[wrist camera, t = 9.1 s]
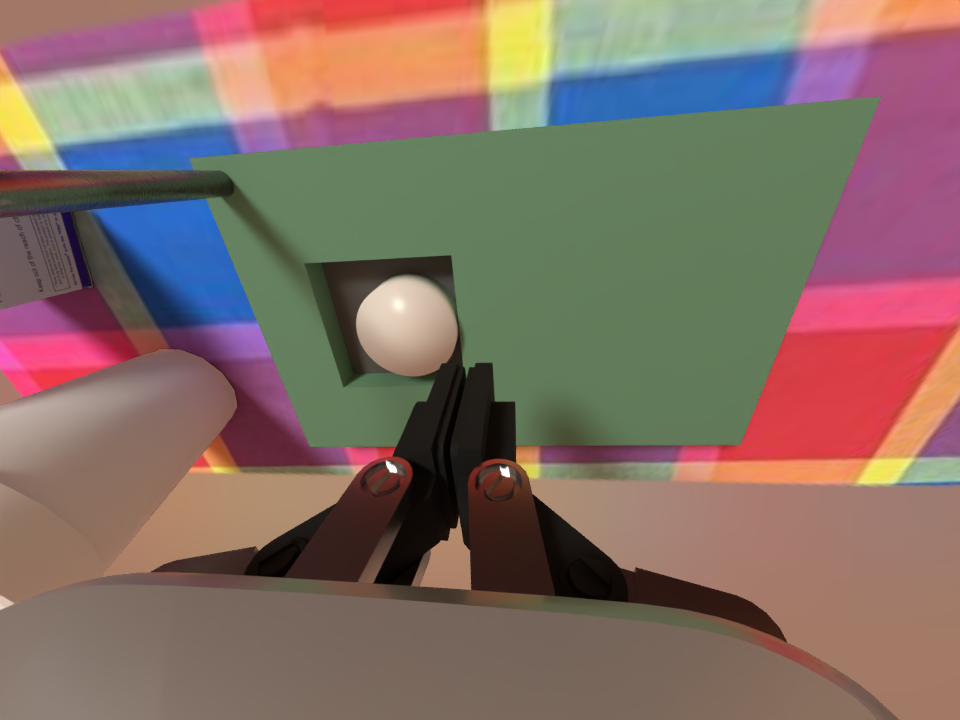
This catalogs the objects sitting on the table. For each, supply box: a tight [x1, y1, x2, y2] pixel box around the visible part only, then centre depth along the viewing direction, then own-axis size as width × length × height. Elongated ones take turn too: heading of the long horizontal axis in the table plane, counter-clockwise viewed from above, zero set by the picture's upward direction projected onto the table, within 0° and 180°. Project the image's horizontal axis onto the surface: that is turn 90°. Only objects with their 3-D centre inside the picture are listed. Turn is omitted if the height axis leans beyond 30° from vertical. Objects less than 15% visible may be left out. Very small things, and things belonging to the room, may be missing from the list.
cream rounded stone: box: [356, 273, 459, 376], centre depth 18 cm, size 5×5×2 cm
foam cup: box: [0, 349, 237, 610], centre depth 18 cm, size 10×9×13 cm
